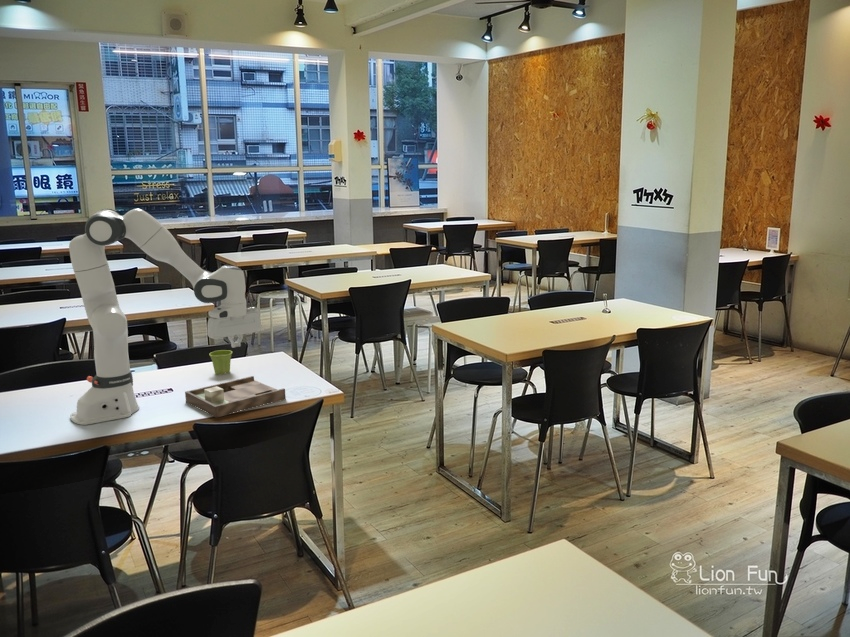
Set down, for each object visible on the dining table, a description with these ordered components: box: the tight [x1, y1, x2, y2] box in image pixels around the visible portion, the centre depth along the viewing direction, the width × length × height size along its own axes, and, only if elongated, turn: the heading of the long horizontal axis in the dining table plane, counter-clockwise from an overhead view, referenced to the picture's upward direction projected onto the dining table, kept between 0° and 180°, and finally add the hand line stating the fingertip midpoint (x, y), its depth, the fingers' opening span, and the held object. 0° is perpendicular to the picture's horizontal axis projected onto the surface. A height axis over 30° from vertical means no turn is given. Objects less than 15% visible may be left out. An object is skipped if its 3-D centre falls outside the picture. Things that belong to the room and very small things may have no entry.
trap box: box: [184, 375, 286, 418], centre depth 269 cm, size 28×24×4 cm
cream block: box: [204, 386, 224, 403], centre depth 263 cm, size 5×5×4 cm
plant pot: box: [209, 349, 233, 375], centre depth 306 cm, size 9×9×9 cm
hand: (235, 346), depth 267 cm, fingers closed
